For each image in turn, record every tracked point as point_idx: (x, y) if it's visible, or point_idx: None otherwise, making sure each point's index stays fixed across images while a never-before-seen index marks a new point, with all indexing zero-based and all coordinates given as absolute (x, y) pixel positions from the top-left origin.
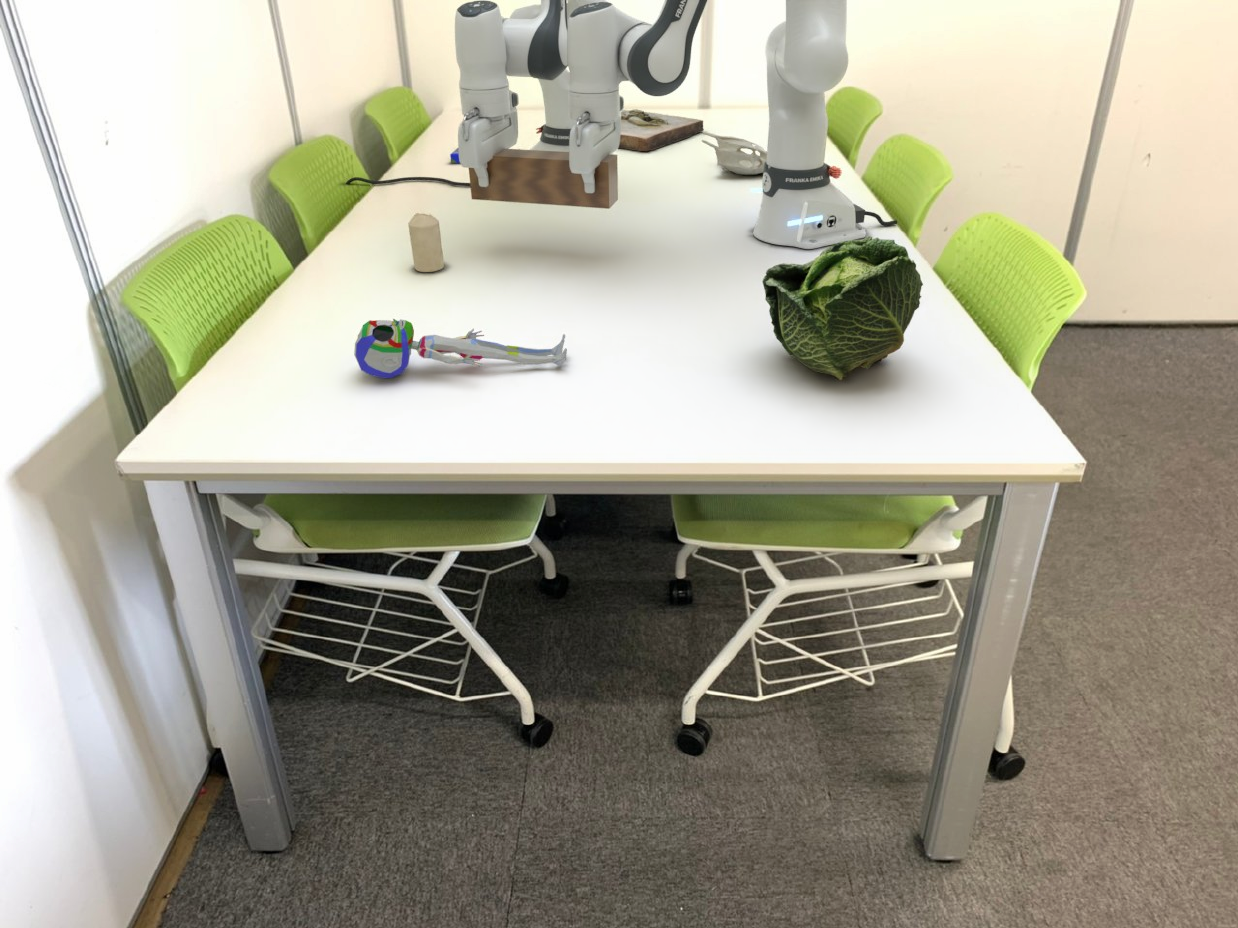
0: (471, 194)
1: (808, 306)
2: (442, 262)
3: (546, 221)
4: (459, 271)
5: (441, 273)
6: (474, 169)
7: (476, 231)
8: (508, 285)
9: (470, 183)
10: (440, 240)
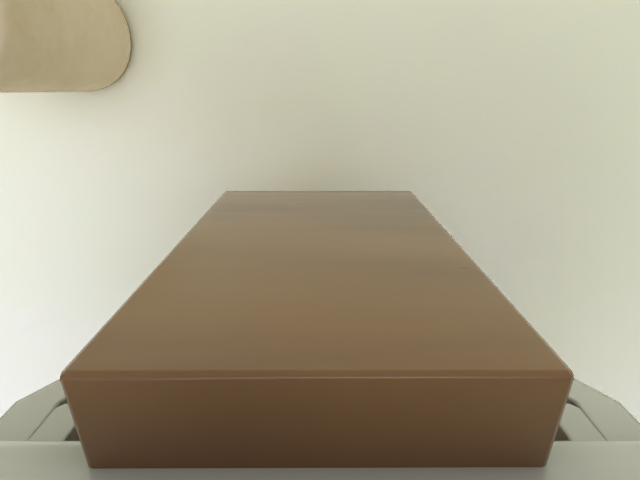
0: (217, 201)
1: None
2: (81, 91)
3: (629, 243)
4: (104, 153)
5: (62, 101)
6: (25, 398)
7: (514, 30)
8: (74, 320)
9: (196, 225)
10: (31, 90)
